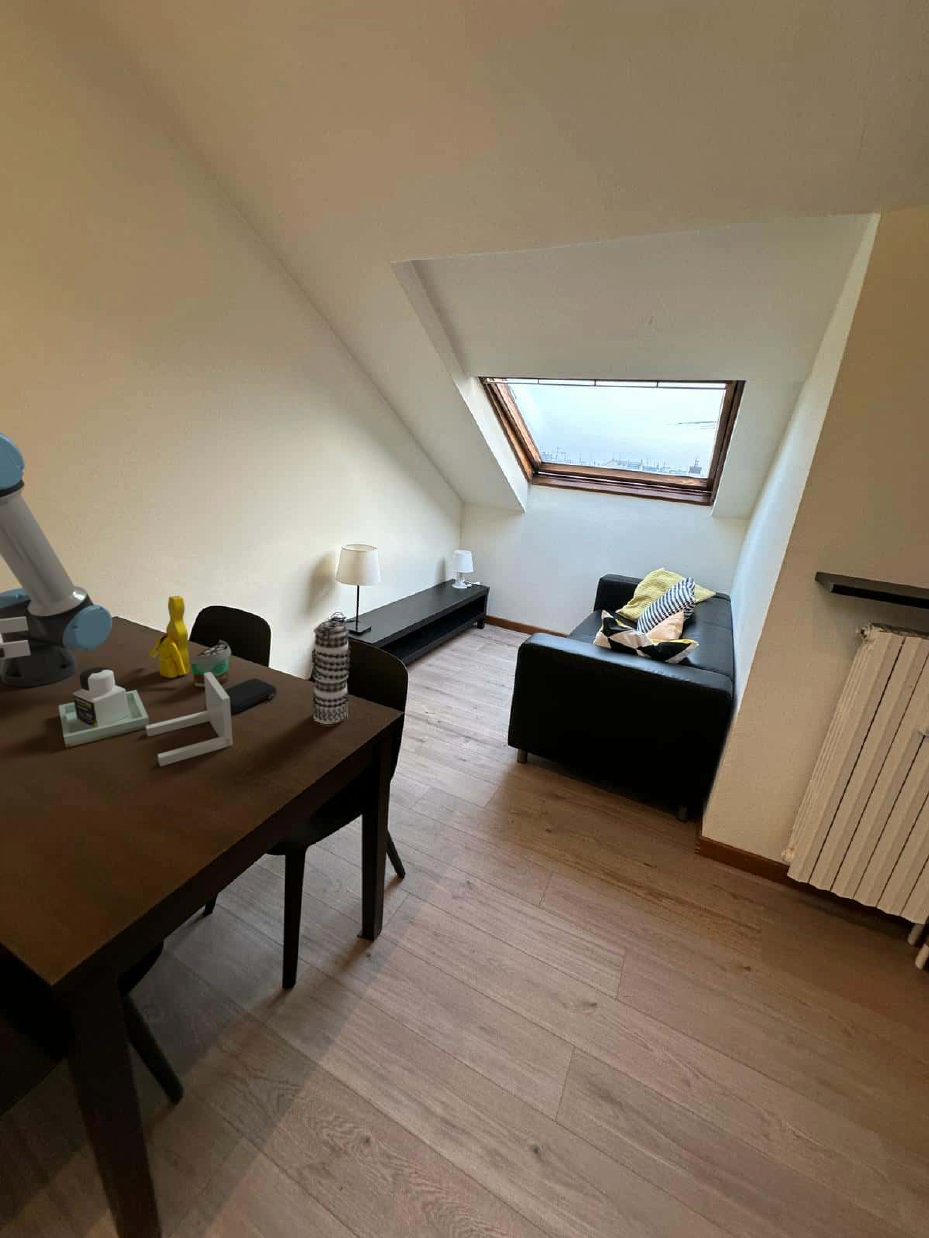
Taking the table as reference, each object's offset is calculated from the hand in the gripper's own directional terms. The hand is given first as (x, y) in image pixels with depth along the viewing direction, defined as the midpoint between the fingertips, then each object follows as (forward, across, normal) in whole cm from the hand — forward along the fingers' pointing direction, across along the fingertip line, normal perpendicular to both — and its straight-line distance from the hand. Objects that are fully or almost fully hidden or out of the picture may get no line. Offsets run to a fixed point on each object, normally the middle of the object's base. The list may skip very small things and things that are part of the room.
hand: (28, 634), depth 94 cm
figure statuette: (+28, -23, -25) cm, 44 cm away
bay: (+24, +12, -25) cm, 36 cm away
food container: (+36, -12, -25) cm, 45 cm away
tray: (+10, -5, -25) cm, 27 cm away
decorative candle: (+54, +19, -25) cm, 62 cm away
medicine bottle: (+10, -5, -24) cm, 27 cm away
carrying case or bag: (+39, +1, -26) cm, 47 cm away
